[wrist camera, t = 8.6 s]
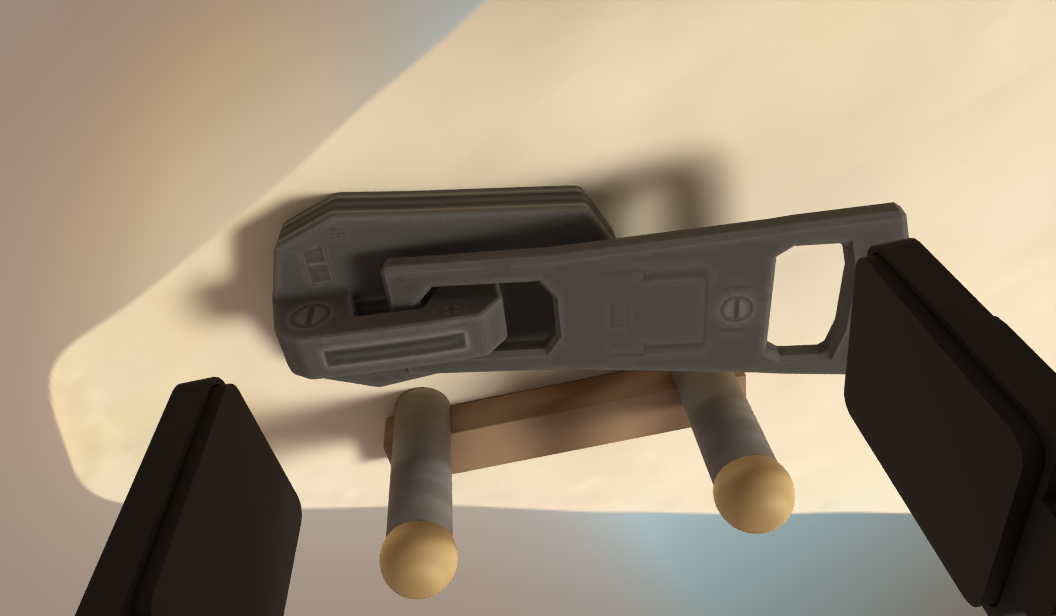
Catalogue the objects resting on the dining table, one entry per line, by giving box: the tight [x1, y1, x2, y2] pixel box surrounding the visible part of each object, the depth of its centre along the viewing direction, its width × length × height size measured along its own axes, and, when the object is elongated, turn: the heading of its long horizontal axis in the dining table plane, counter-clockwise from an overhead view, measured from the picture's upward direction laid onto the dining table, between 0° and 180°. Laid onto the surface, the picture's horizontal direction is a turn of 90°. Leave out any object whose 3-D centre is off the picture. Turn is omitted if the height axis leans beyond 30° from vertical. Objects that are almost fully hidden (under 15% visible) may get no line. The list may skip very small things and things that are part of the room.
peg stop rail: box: [380, 370, 795, 599], centre depth 34 cm, size 18×5×11 cm, turn 100°
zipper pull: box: [273, 186, 909, 387], centre depth 31 cm, size 9×7×25 cm
